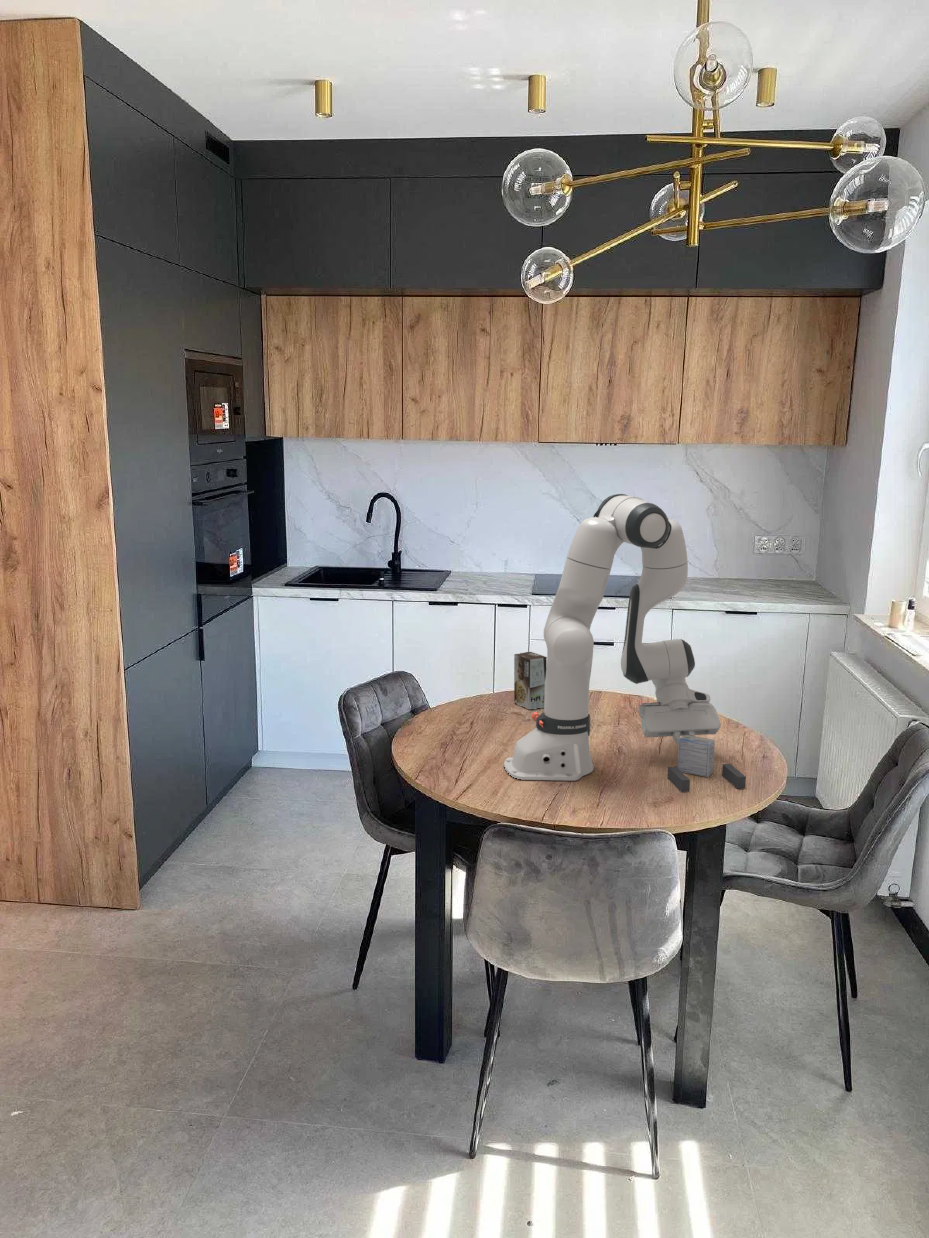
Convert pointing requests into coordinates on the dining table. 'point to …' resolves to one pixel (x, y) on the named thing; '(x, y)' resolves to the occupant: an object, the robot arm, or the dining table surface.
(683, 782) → the grey blocks
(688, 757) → the medicine box
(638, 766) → the dining table surface
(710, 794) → the dining table surface
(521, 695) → the coffee box
